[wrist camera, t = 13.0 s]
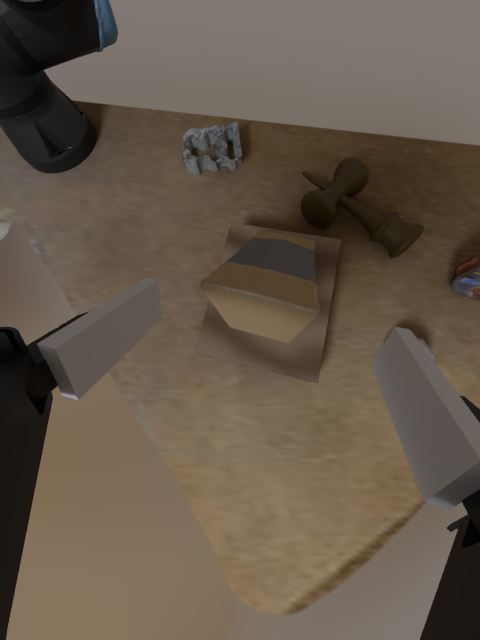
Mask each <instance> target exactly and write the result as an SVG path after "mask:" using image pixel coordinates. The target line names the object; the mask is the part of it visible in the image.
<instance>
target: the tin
mask: <svg viewBox="0 0 480 640" xmlns="http://www.w3.org/2000/svg"><path fill="white" fill-rule="evenodd" d="M452 288H453V290H454V291H455V292H456V293H457V294H459V295H461V296H464V297H467V298H471V299H475V300H478V301H480V254H479V255H476V256H474V257H472V258H470V259H468V260H466V261H465V262H463V263H462V264H460V265H459V266H458V267H457V268H456V270H455V274H454V280H453V282H452Z"/></svg>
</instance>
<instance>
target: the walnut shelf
mask: <svg viewBox="0 0 480 640" xmlns="http://www.w3.org/2000/svg"><path fill="white" fill-rule="evenodd" d="M259 230H265V231H271V232H277V233H283V234H288V235H292V236H296V237H301V238H305V239H309V240H313V241H315V272H316V286H317V293H318V299H319V305H320V313H319V315H318V316H317V317H316V318H315V319H314V320H313V321H312V322H311V323H309V324H308V325H307V326H306V327H305V328H304V329H303V330H302V331H301V332H300V333H299V334H298V335H297V336H296V337H295V338H293V339H292V340H291V341H290V342H289V343H285V342H282V341H278V340H274V339H271V338H267V337H263V336H259V335H256V334H252V333H249V332H245V331H241V330H238V329H234V328H231V327H229V325H228V324H227V323H226V321H225V320H224V319H223V317H222V316H221V315H220V313H219V312H218V310H217V309H216V308H215V306H214V305H213V304H212V302H211V301H209V304H208V308H207V311H206V315H205V319H204V322H203V326H202V329H201V333H200V336H199V340H198V343H197V347H196V350H195V353H197V354H200V355H204V356H208V357H212V358H217V359H221V360H225V361H229V362H233V363H237V364H242V365H246V366H250V367H254V368H258V369H262V370H266V371H270V372H274V373H278V374H282V375H286V376H290V377H294V378H297V379H301V380H305V381H309V382H314V383H318V379H319V373H320V367H321V361H322V355H323V349H324V343H325V337H326V330H327V324H328V318H329V312H330V306H331V300H332V294H333V288H334V281H335V275H336V269H337V263H338V257H339V251H340V245H341V239H334V238H328V237H322V236H315V235H309V234H302V233H296V232H289V231H283V230H277V229H270V228H264V227H257V226H251V225H245V224H238V223H231V227H230V230H229V234H228V237H227V241H226V244H225V248H224V251H223V255H222V258H221V262H220V266H221V265H223V264H224V263H225V262H226V261H227V260H229V259H230V258H231V257H232V256H233V255H234V254H235V253H236V252H237V251H238V250H239V249H241V248H242V247H243V246H244V245H245V244H246V243H247V242H248V241H249V240H250V239H252V237H253V236H254V235H255V234H256V233H257V232H258V231H259ZM220 266H219V267H220Z"/></svg>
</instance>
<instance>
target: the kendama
mask: <svg viewBox="0 0 480 640" xmlns="http://www.w3.org/2000/svg"><path fill="white" fill-rule="evenodd" d="M302 174H303V175H304V176H305V177H306V178H307V179H308V180H309V181H311V182H312V183H313V184H315V185H316V186H317V187H319V188H320V189H321V191H311V192H309V193H307V194H306V195H305V196H304V197H303V199H302V201H301V210H302V214H303V215H304V217H305V219H306V220H307V221H308V222H309V223H310V224H312V225H314V226H315V227H317V228H321V229H325V228H328V227H329V226H330V225H331V224H332V223H333V221H334V218H335V214H336V204H337V203H340V204H341V205H342V206H343V207H345V208H346V209H347V210H348V211H349V212H350V213H351V214H352V215H353V216H354V217H356V218H357V219H358V220H359V221H360V222H361V223H362V224H363V226H364V227H365V228H366V229H367V230H368V232H369V234H370V240H371V241H379V242H380V243H382V244H383V245H384V246H385V247H386V248H387V249H388V251H389V256H390V257H391V258H394V257H397V256H399V255H400V254H402V253H403V252H404V251H406V250H407V249H408V248H409V247H410V246H411V245H412V244H413V243H414V242H415V241H416V240H417V239H418V238H419V236H420V235H421V234H422V232H423V229H424V226H423V225H417V226H411V225H408V224H406V223H404V222H402V221H401V220H400V219H399V218H398V213H397V212H392V213H385V212H381V211H378V210H376V209H373V208H371V207H369V206H366V205H364V204H362V203H360V202H358V201H356V200H354V199H352V198H350V197H348V196H352V195H355V194H357V193H359V192H361V191H362V189H363V188H364V187H365V186H366V183H367V181H368V170H367V168H366V166H365V165H364V164H363V163H362V162H361V161H360V160H357V159H355V158H346V159H344V160H343V161H341V162H340V163H339V165H338V167H337V168H336V171H335V175H334V179H333V182H332V184H331V185H330V186H329V185H328V184H326V183H325V182H323V181H321V180H320V179H318V178H317V177H315V176H313V175H312V174H310V173H308V172H305V171H304V172H303V173H302Z"/></svg>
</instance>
